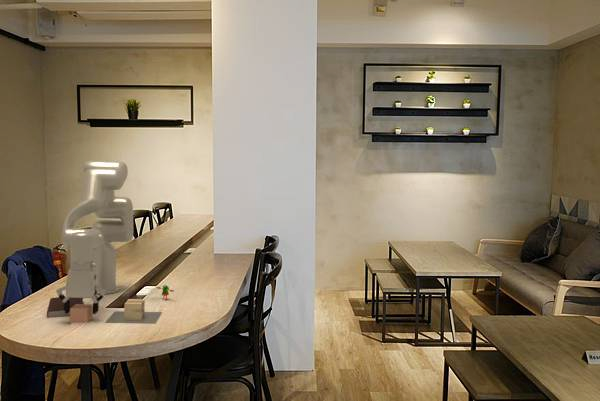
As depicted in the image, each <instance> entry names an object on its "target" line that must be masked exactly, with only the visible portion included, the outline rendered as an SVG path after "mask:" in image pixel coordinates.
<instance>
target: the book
mask: <svg viewBox="0 0 600 401" xmlns="http://www.w3.org/2000/svg"><path fill="white" fill-rule="evenodd" d="M69 301H70V309H71V308H72V307H73V306H74V305H75V304H84V298H70V299H69ZM48 302H49V303H48V306H47V307H48V308H47V310H46V316H47V318H62V317H70V312H68V313H67V314H65V311H64V303H63V302H62V300H61V299H60V298H59V296H58V297H57V296H56V297H50V298H49V301H48Z"/></svg>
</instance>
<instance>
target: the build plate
mask: <svg viewBox="0 0 600 401" xmlns="http://www.w3.org/2000/svg"><path fill="white" fill-rule="evenodd" d="M162 313H163V312H162V311H145V312H144V316H143V318H142V319H141V320H124V310H123V311H120V310H118V311H117V310H116V311H114V312H113V313H112V314H111V315H110V316H109V317H108V318H107V320H106V321H105V322H104V324H141V325H142V324H143V325H144V324H147V325H149V324H154V325H155V324H156V323H157V322H158V320H159V319H160V317H161V315H162Z"/></svg>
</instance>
